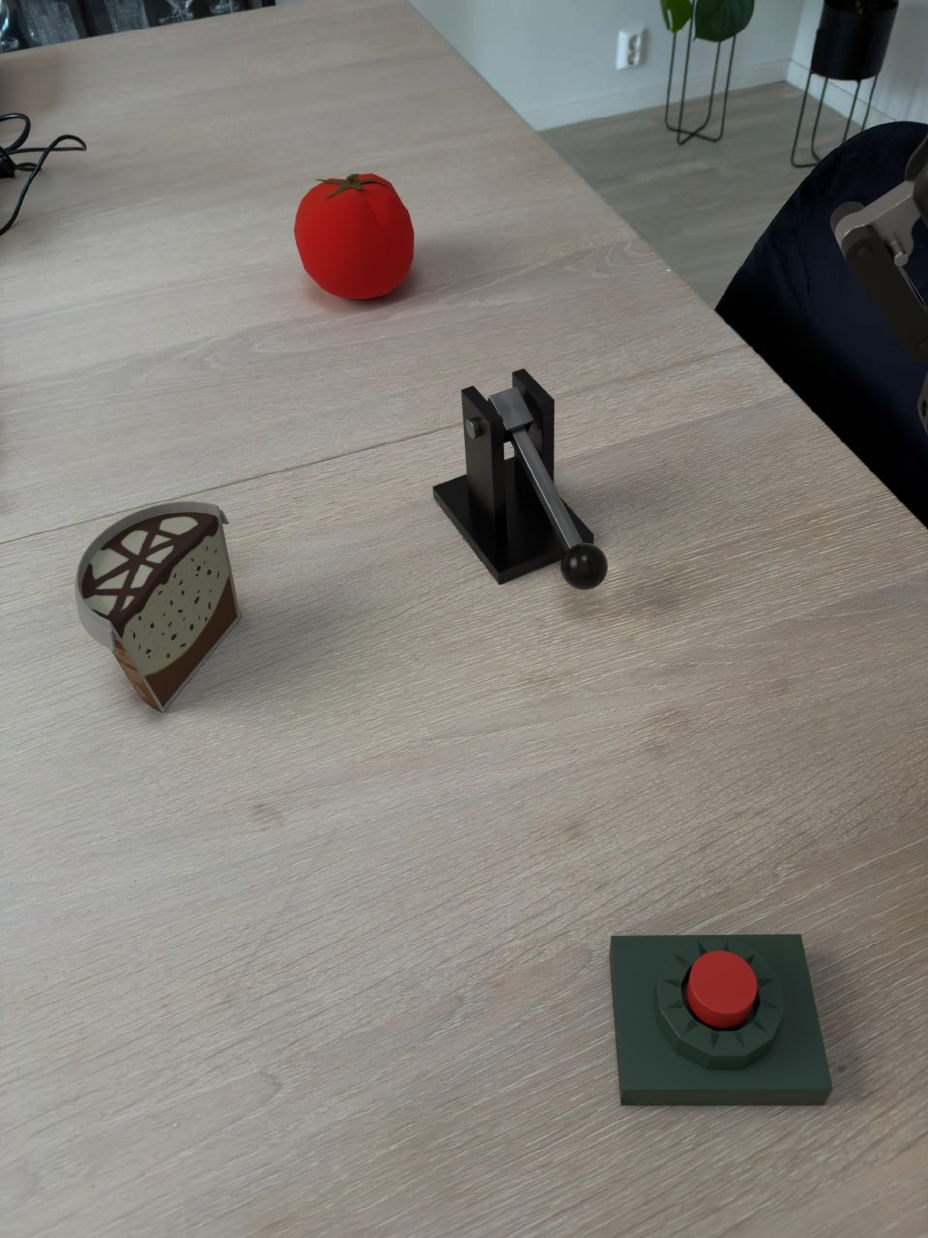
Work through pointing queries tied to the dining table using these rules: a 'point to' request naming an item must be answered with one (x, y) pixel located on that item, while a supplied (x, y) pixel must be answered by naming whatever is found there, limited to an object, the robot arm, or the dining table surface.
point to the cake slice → (159, 594)
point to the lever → (549, 494)
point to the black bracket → (505, 488)
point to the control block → (711, 1056)
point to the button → (721, 989)
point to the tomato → (355, 236)
